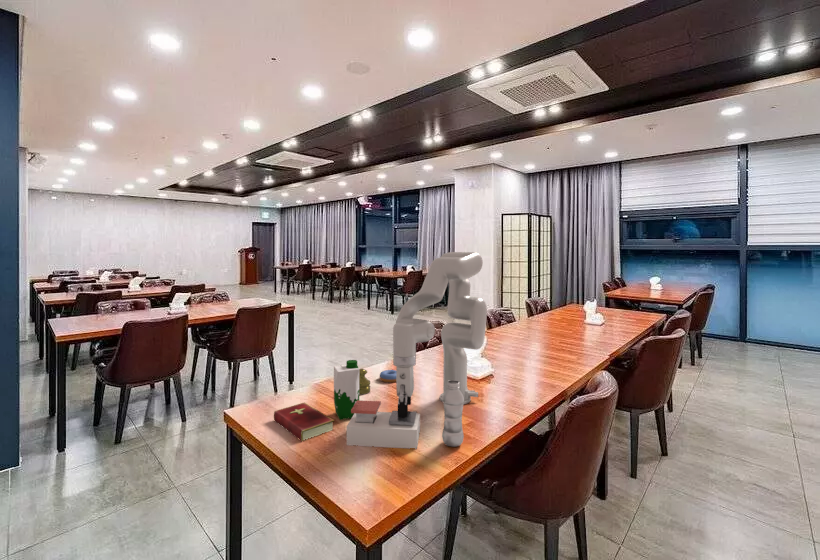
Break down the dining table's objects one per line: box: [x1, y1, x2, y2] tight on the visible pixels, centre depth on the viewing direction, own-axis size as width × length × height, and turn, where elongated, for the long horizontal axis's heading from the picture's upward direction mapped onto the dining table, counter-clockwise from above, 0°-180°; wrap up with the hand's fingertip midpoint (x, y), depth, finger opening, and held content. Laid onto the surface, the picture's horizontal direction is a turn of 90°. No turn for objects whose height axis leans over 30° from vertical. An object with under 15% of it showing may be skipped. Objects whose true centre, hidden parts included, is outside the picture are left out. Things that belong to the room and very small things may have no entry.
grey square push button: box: [389, 410, 418, 425], centre depth 124 cm, size 8×8×6 cm
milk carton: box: [333, 359, 361, 421], centre depth 142 cm, size 9×9×20 cm
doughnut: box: [379, 369, 397, 383], centre depth 182 cm, size 10×10×5 cm
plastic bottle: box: [441, 380, 465, 448], centre depth 120 cm, size 6×7×20 cm
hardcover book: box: [273, 402, 335, 442], centre depth 134 cm, size 12×21×4 cm, turn 43°
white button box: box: [346, 411, 421, 450], centre depth 125 cm, size 22×12×6 cm, turn 84°
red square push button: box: [351, 399, 382, 423], centre depth 125 cm, size 8×8×6 cm
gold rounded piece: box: [359, 368, 371, 395], centre depth 166 cm, size 7×7×10 cm
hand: (404, 410), depth 129 cm, fingers open, 9 cm apart
